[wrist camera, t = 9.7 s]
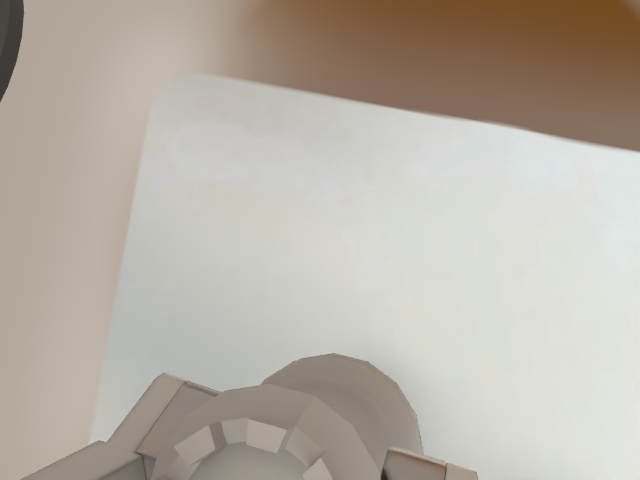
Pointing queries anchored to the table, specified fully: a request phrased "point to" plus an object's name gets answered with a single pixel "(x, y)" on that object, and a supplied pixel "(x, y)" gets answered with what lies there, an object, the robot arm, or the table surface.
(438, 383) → the table surface
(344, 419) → the rook chess piece
